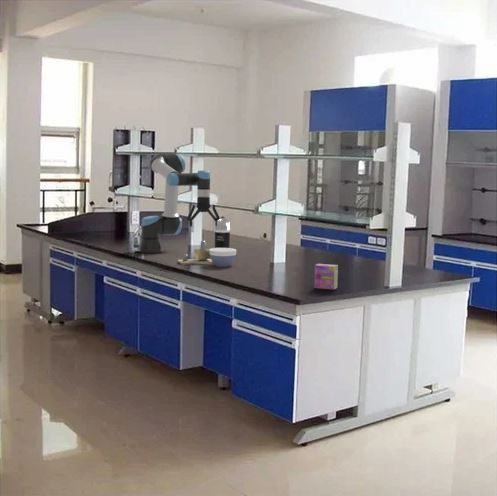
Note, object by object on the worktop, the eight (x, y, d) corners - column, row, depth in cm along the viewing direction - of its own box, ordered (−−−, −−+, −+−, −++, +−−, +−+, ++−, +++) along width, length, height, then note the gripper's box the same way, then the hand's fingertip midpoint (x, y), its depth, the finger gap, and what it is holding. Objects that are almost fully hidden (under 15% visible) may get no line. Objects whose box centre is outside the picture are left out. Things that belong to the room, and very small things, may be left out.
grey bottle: (227, 256, 456) (228, 217, 453) (212, 255, 458) (212, 216, 455) (231, 254, 466) (232, 216, 463) (216, 253, 468) (216, 215, 465)
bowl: (231, 268, 410) (231, 252, 408) (205, 266, 414) (205, 250, 413) (239, 264, 425) (239, 248, 424) (214, 262, 429) (214, 247, 428)
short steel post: (182, 260, 427) (182, 254, 426) (187, 260, 428) (187, 254, 427) (183, 261, 424) (183, 254, 423) (188, 261, 425) (188, 254, 424)
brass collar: (194, 257, 432) (194, 249, 431) (207, 256, 435) (207, 248, 434) (198, 259, 424) (198, 251, 423) (211, 258, 427) (211, 250, 426)
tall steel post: (197, 259, 431) (197, 240, 430) (205, 259, 433) (206, 240, 431) (200, 261, 426) (200, 241, 425) (208, 260, 428) (208, 241, 426)
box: (314, 288, 357) (314, 264, 355) (317, 286, 362) (318, 263, 360) (334, 290, 352) (334, 266, 351) (337, 288, 358) (338, 264, 356)
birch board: (177, 261, 431) (177, 259, 430) (209, 260, 437) (209, 258, 437) (183, 264, 419) (183, 262, 419) (215, 263, 426) (215, 261, 426)
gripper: (184, 197, 417) (184, 233, 420) (225, 196, 425) (224, 232, 428) (181, 196, 424) (181, 231, 427) (221, 195, 432) (221, 230, 435)
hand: (203, 231), depth 427 cm, fingers open, 13 cm apart
